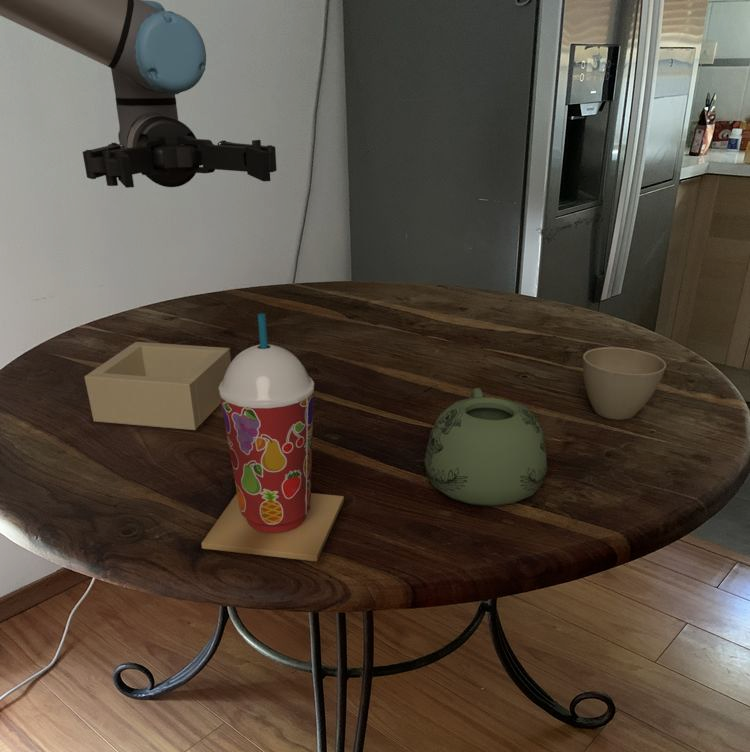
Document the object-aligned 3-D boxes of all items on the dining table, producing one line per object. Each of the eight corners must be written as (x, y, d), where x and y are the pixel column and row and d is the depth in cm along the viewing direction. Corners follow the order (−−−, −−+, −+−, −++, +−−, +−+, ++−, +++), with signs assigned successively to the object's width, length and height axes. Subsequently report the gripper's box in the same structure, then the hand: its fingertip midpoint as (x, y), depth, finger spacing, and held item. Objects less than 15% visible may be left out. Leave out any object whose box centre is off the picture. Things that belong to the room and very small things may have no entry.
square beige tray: (93, 421, 92) (83, 376, 89) (142, 382, 104) (135, 341, 101) (195, 430, 90) (189, 384, 87) (233, 389, 102) (229, 347, 99)
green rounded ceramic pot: (557, 514, 73) (569, 435, 69) (428, 515, 73) (432, 436, 69) (524, 443, 87) (532, 374, 83) (416, 445, 87) (418, 375, 82)
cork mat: (201, 548, 68) (201, 543, 68) (242, 490, 77) (241, 485, 77) (317, 561, 66) (316, 556, 66) (344, 501, 75) (343, 496, 75)
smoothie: (331, 503, 74) (325, 305, 64) (300, 548, 67) (288, 334, 57) (255, 491, 76) (237, 297, 66) (217, 533, 69) (192, 324, 59)
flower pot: (603, 432, 90) (613, 377, 86) (560, 402, 98) (568, 351, 95) (671, 422, 93) (683, 368, 89) (624, 393, 101) (634, 343, 97)
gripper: (265, 179, 95) (319, 203, 79) (61, 188, 87) (72, 217, 70) (261, 114, 92) (317, 124, 75) (47, 117, 83) (56, 129, 66)
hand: (199, 169), depth 72 cm, fingers open, 13 cm apart
